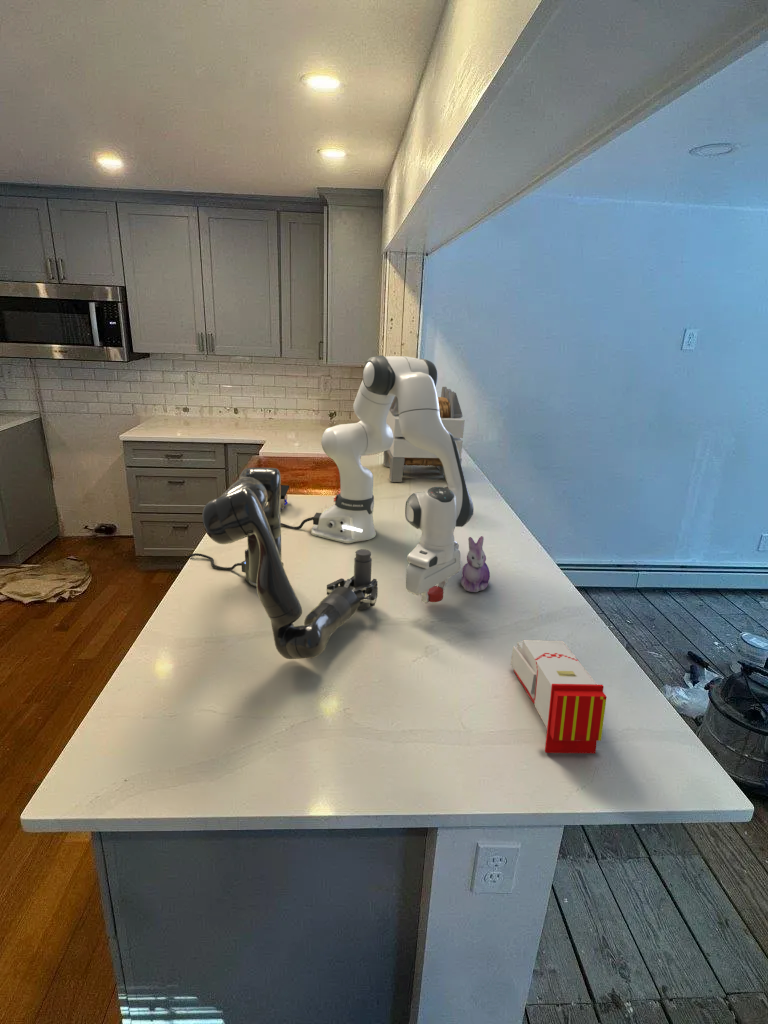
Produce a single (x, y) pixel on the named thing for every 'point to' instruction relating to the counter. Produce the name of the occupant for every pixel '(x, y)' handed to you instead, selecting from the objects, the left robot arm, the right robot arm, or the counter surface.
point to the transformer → (415, 456)
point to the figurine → (475, 568)
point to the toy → (561, 695)
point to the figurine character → (283, 496)
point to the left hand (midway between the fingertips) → (366, 580)
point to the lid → (435, 594)
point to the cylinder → (362, 571)
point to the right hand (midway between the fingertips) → (432, 597)
